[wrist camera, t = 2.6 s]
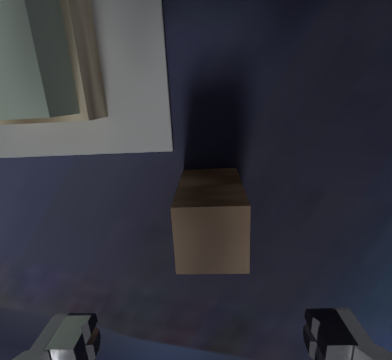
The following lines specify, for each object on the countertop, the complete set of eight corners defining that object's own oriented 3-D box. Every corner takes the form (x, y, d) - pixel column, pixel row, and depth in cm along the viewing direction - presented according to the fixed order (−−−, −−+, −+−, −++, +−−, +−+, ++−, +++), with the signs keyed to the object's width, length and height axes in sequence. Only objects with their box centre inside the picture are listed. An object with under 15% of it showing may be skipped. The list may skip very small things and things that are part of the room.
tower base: (90, 0, 18) (64, -21, 15) (107, 116, 21) (88, 120, 18) (-17, 8, 19) (-65, -10, 16) (12, 121, 21) (-24, 126, 18)
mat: (157, -55, 18) (156, -58, 17) (173, 150, 22) (172, 151, 21) (-91, -33, 19) (-98, -36, 18) (-30, 158, 23) (-34, 159, 23)
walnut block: (236, 167, 22) (250, 205, 15) (236, 215, 23) (249, 273, 16) (183, 169, 22) (170, 207, 15) (186, 217, 24) (176, 274, 16)
